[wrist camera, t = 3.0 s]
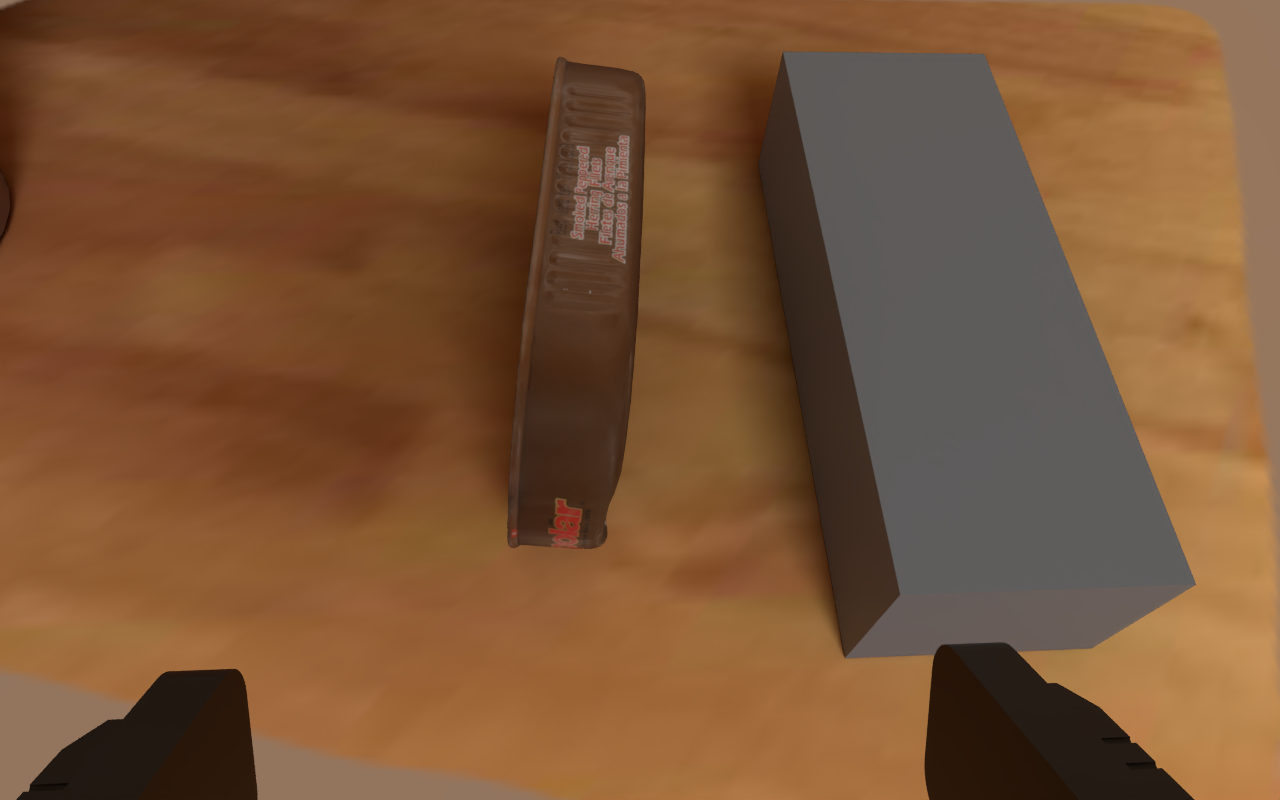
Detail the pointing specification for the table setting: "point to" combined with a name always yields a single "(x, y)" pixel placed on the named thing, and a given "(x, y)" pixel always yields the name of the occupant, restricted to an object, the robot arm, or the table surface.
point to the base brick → (950, 370)
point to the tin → (579, 311)
